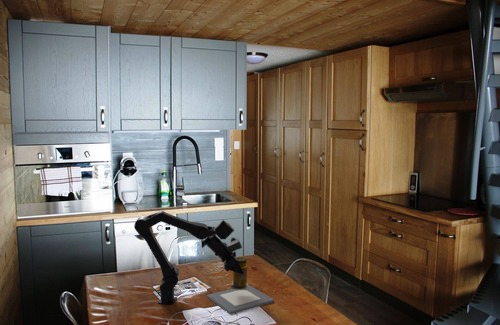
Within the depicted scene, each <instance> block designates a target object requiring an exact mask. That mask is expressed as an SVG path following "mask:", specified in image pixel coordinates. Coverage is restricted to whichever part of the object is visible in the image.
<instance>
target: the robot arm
mask: <svg viewBox="0 0 500 325" xmlns="http://www.w3.org/2000/svg"><path fill="white" fill-rule="evenodd" d="M159 223H164V224H166V225H169V226H172V227H174V228H177V229H180V230H183V231H186V232H187V233H189V234H190V235H191V236H193V237H195V238H196V239H198V240H200V243H201V248H202V249H203V248H205V246H206V247H207V248H208V249H210V250H211V251H212V252H213V253H214V255H215V256H216V257H218V258H219V260H221V262H222V263H223V268H224V270H225V271H226V272H229V271H230V272H233V271H234V272H237V273H240V274H244V271H243V270H242V269H241V267H240V266H239V264H238V258H239V257H237V253H236V251H238V250H240V249H242V248H243V245H242V243H241V241H240V239H239V238H235V236H234V237H231V238H230V241H229V243H226V242H224V241H222V240H226V239H227V238H229V237H230V235H231V234H233V233H234V231H235V229H234V228H233V226H232V225H231V224H230V223H228V222H227V221H225V220H224V219H222V220H220V221H219V223H218V224H217V226H216V227H215V226H210V225H209V226H208V225H207V224H205V223H202V222H196V221H190V220H187V219H184V218H182V217H178V216H176V215H173V214H171V213H168V212H166V211H164V210H159V211H157V212H155V213H152V214H149V215H146V216H145V215H142V216H139V217H138V218H137V219H136V221H135V222H134V230H135V231H136V232H137V234H138V235H139V236H140V237H141V238H142V239H143V240H144V241H145V242H146V244H147V246H148V247H149V249H150V251H151V253H152V255H153V256H154V258H155V260H156V261H157V264H158V265H159V267H160V271H161V274H162V278H161V280H160V284H159V289H160V299H158V301H157V304H163V305H173V304H174V302H176V300H178V297H175V286H176V285H177V284H178V282H179V279H180V277H179V276H180V269H178V267H177V264H176V262H174V263H173V264H172V263H171V262H170V261H169V259H168V258H167V256H166V253H165V252H164V250H163V248H162V246H161V244H160V243H159V241H158V239H157V237H156V236H155V233H154V229H153V226H156V225H157V224H159Z"/></svg>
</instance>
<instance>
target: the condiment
mask: <svg viewBox="0 0 500 325" xmlns="http://www.w3.org/2000/svg"><path fill="white" fill-rule="evenodd" d="M237 258H238V264H239V266H240V267H241V269H242V270H243V271H244V274H240V273H237V272H234V271H232V272H233V273H232V276H233V277H232V278H233V279H232V282H231V286H230V289H231V290H248V285H249V282H248V265H247V258H244V257H237Z"/></svg>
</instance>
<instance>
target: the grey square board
mask: <svg viewBox="0 0 500 325" xmlns="http://www.w3.org/2000/svg"><path fill="white" fill-rule="evenodd" d="M206 298H207V299H208V300H211V302H213V303H214V304H215V305H216V306H218V307H220V309H222V310H224V311H225V312H226V311H227V312H226V313H228V314H229V315H232V313H233V314H236V312H237V313H239V312H243V310H244V311H246V310H250V308H251V309H254V308H257V307H261V306H264V305H268V304H271V303H274V302H275V299H274V298H272V297H270V296H269V295H267V294H266V293H264V292H261V291H260V290H258V289H257V288H255V287H253V286H251V285H249V284H248V290H231V288H229V289H226V290H222V291H218V292H214V293H213V292H212V293H210V294H206Z"/></svg>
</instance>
